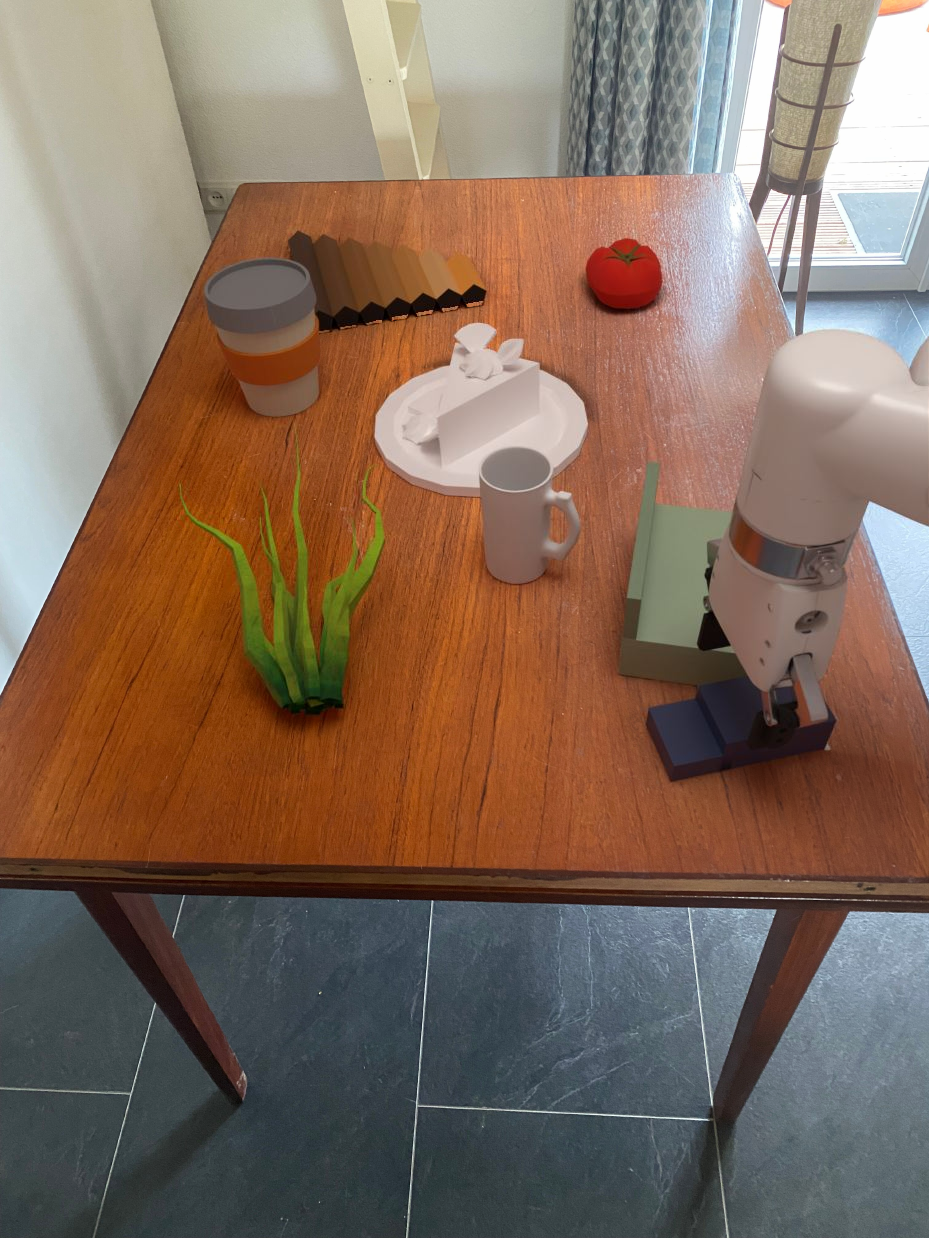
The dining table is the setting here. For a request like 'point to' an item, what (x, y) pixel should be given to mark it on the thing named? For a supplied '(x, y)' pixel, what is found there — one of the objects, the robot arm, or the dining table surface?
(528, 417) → the dish
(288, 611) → the decorative plant
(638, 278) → the tomato
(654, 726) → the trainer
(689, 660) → the sage stepped base
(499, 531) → the mug
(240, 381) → the reusable coffee cup
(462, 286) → the pan flute
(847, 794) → the dining table surface
